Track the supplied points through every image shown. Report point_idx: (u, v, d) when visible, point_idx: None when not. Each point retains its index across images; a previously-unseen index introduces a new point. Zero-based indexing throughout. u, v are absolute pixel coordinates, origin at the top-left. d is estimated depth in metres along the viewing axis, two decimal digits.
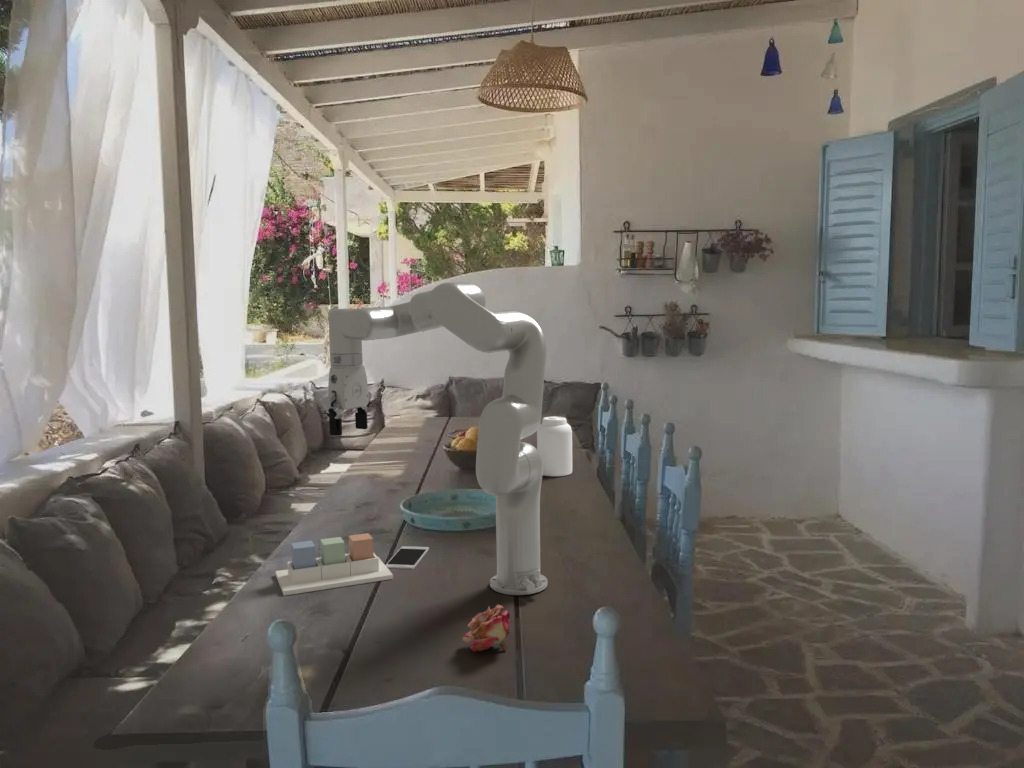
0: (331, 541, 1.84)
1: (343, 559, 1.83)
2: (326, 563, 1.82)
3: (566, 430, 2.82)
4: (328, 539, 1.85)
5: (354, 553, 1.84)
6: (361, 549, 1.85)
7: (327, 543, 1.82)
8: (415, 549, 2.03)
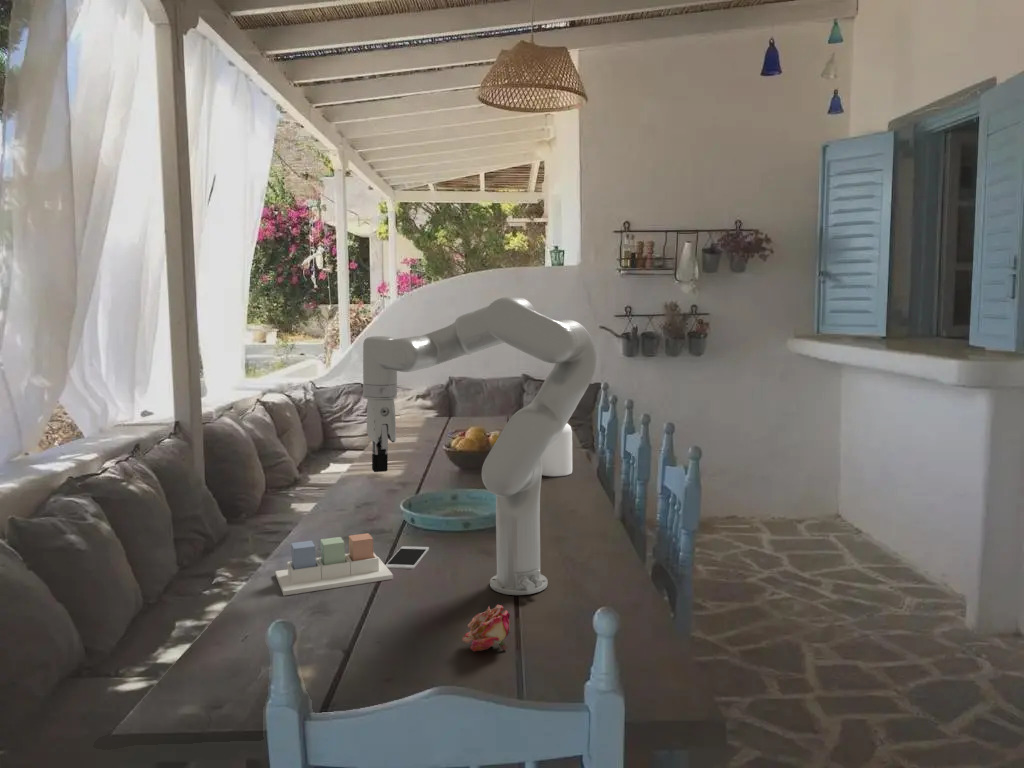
0: (331, 541, 1.84)
1: (343, 559, 1.83)
2: (326, 563, 1.82)
3: (566, 430, 2.82)
4: (328, 539, 1.85)
5: (354, 553, 1.84)
6: (361, 549, 1.85)
7: (327, 543, 1.82)
8: (415, 549, 2.03)
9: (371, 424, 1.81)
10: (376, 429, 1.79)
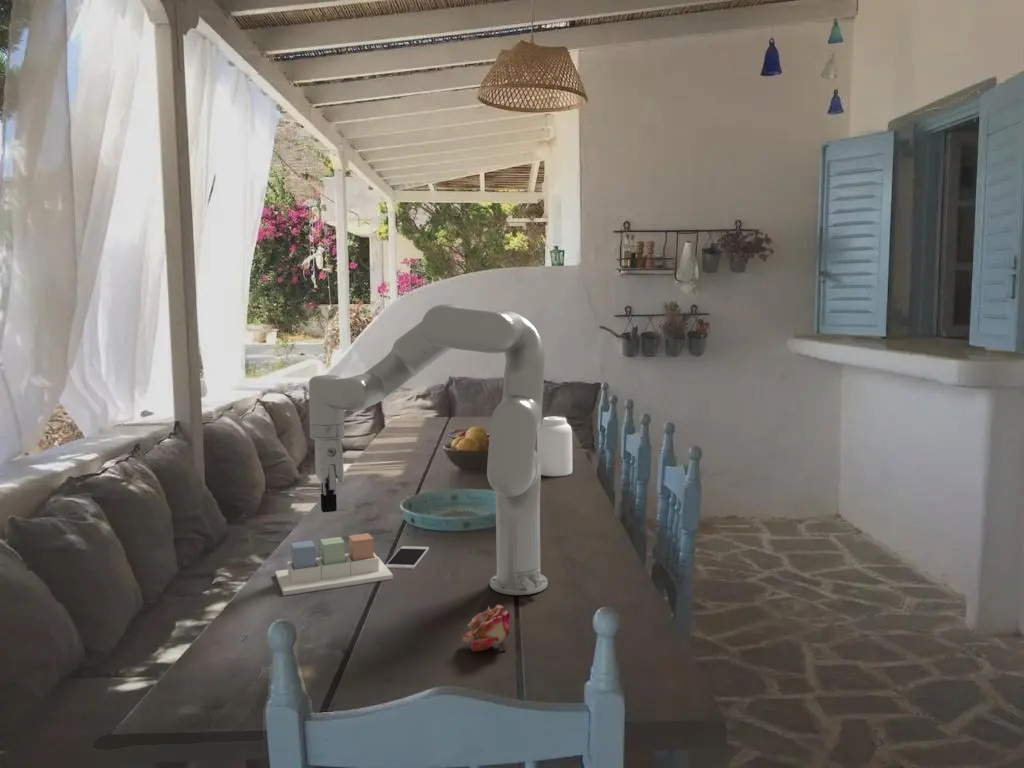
0: (331, 541, 1.84)
1: (343, 559, 1.83)
2: (326, 563, 1.82)
3: (566, 430, 2.82)
4: (328, 539, 1.85)
5: (354, 553, 1.84)
6: (361, 549, 1.85)
7: (327, 543, 1.82)
8: (415, 549, 2.03)
9: (318, 464, 1.79)
10: (323, 470, 1.77)
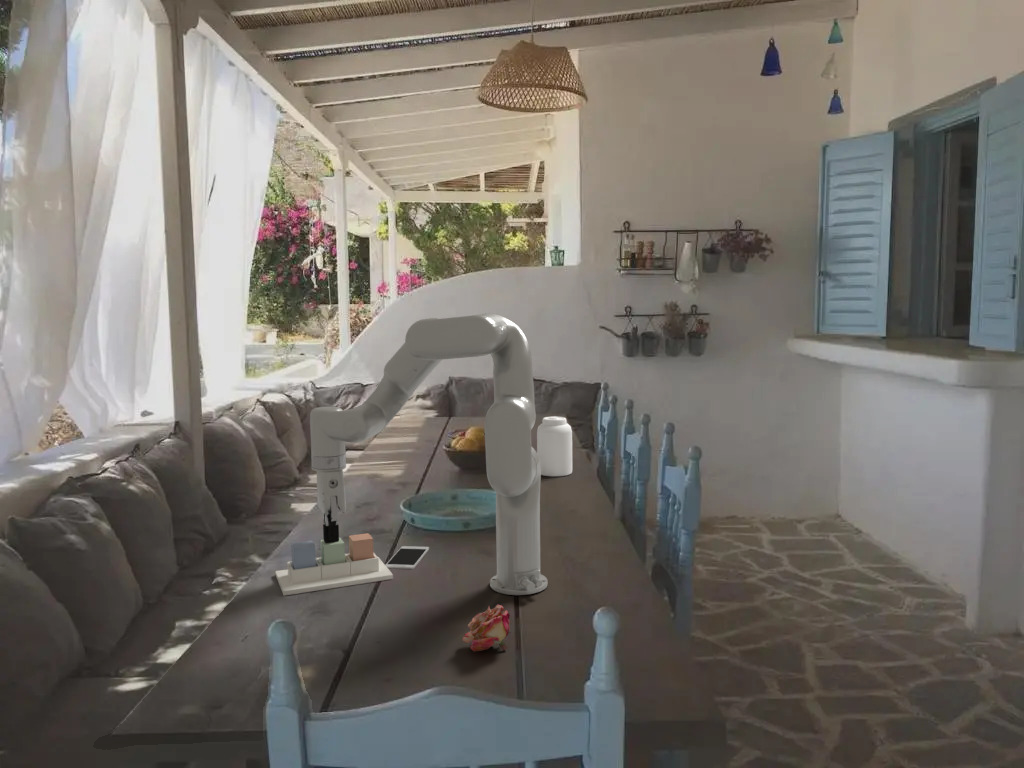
0: None
1: (343, 560, 1.83)
2: (326, 564, 1.82)
3: (566, 430, 2.82)
4: None
5: (354, 553, 1.84)
6: (361, 549, 1.85)
7: (327, 543, 1.82)
8: (415, 549, 2.03)
9: (320, 496, 1.80)
10: (325, 501, 1.78)
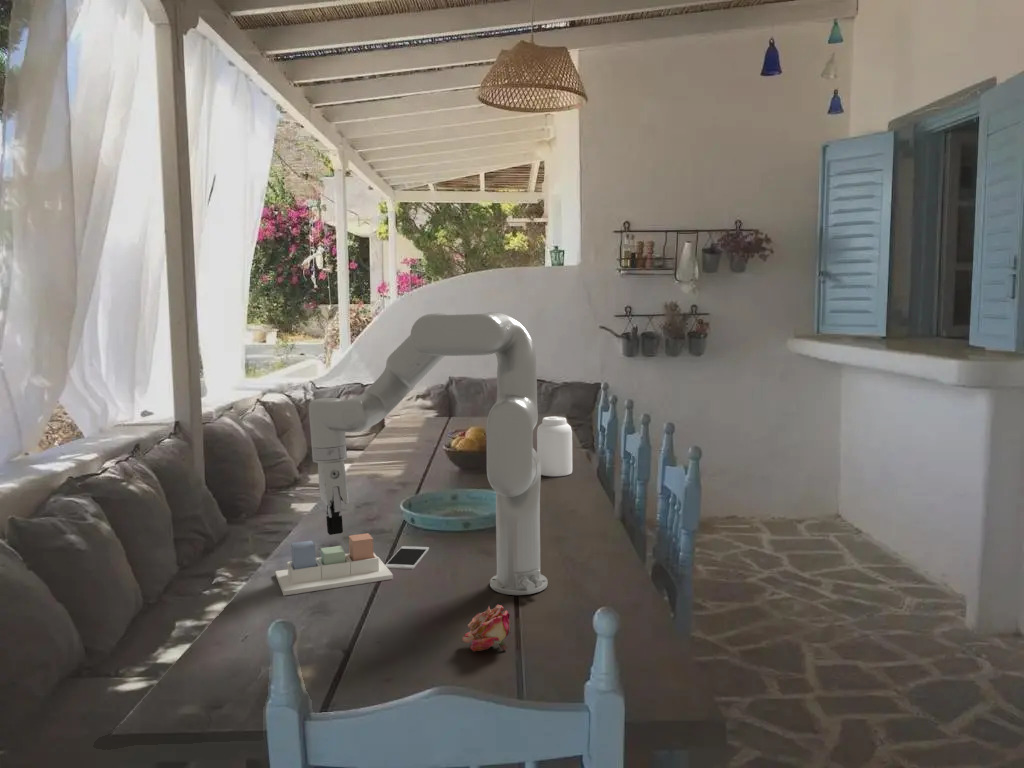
0: (332, 550, 1.84)
1: None
2: None
3: (566, 430, 2.82)
4: (328, 548, 1.85)
5: (354, 553, 1.84)
6: (361, 549, 1.85)
7: (327, 552, 1.83)
8: (415, 549, 2.03)
9: (322, 487, 1.80)
10: (327, 492, 1.78)
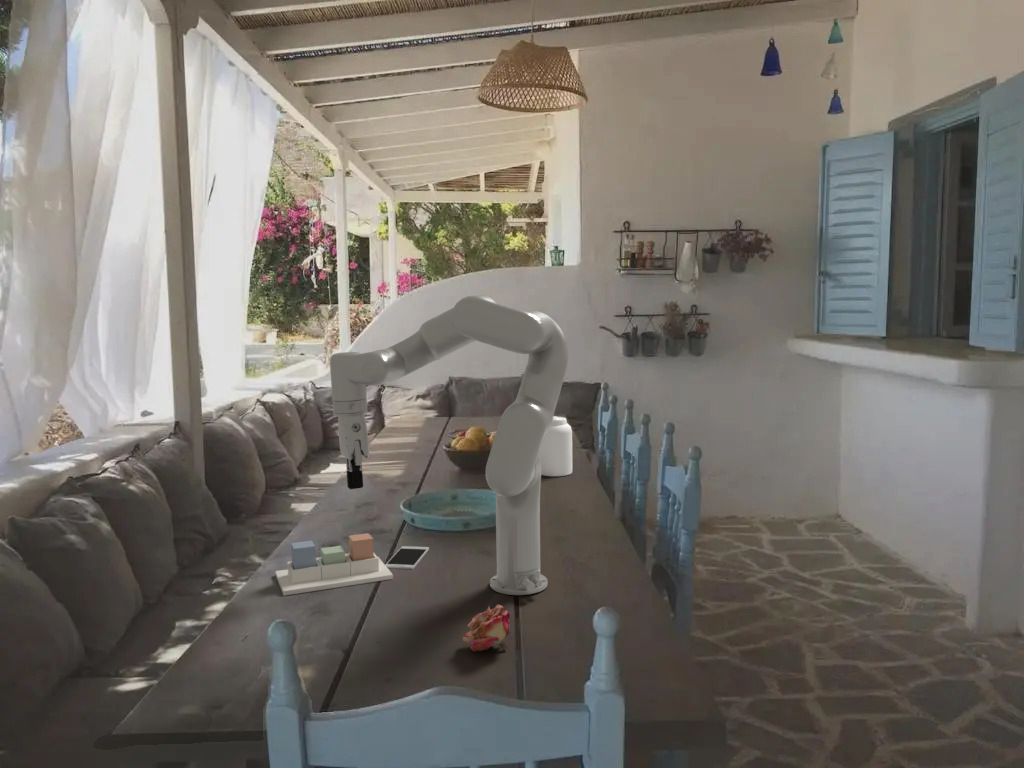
0: (332, 550, 1.84)
1: None
2: None
3: (566, 430, 2.82)
4: (328, 548, 1.85)
5: (354, 553, 1.84)
6: (361, 549, 1.85)
7: (327, 552, 1.83)
8: (415, 549, 2.03)
9: (343, 441, 1.80)
10: (349, 445, 1.77)
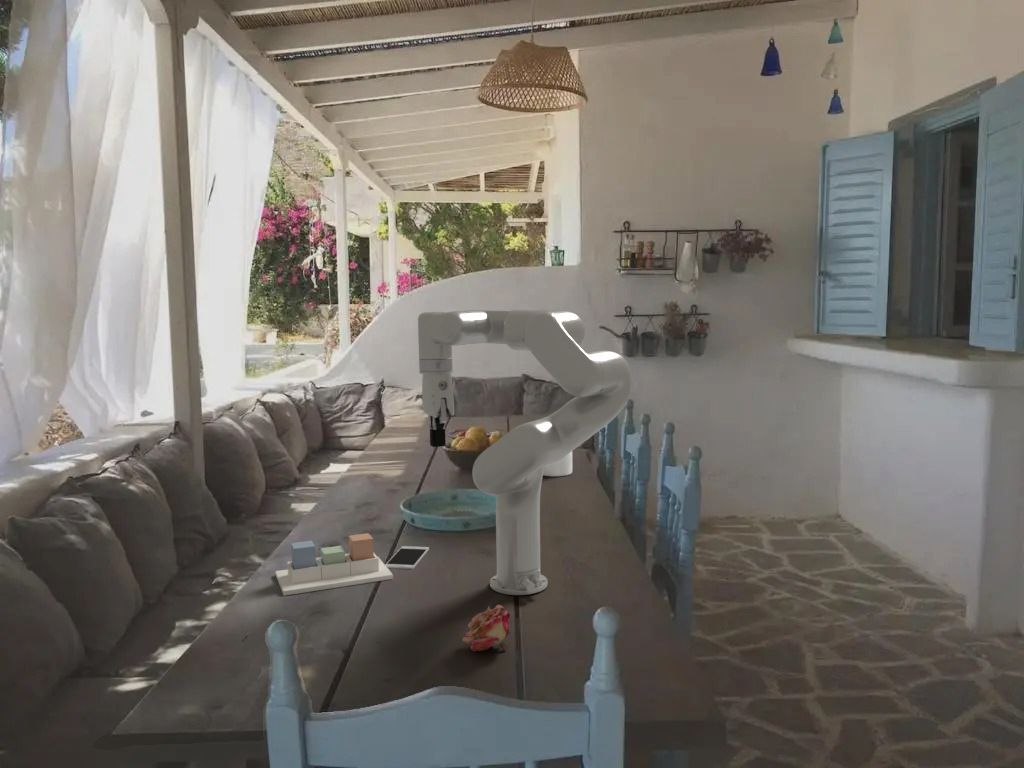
0: (332, 550, 1.84)
1: None
2: None
3: None
4: (328, 548, 1.85)
5: (354, 553, 1.84)
6: (361, 549, 1.85)
7: (327, 552, 1.83)
8: (415, 549, 2.03)
9: (429, 399, 1.82)
10: (435, 403, 1.80)
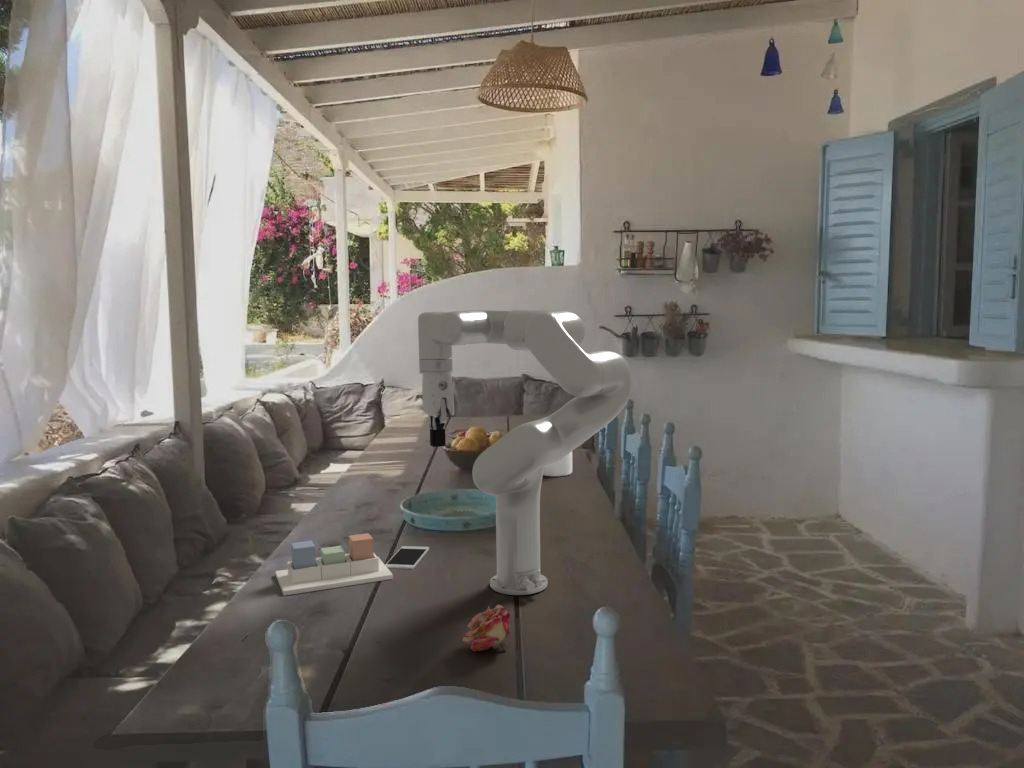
0: (332, 550, 1.84)
1: None
2: None
3: None
4: (328, 548, 1.85)
5: (354, 553, 1.84)
6: (361, 549, 1.85)
7: (327, 552, 1.83)
8: (415, 549, 2.03)
9: (429, 399, 1.82)
10: (435, 403, 1.80)
